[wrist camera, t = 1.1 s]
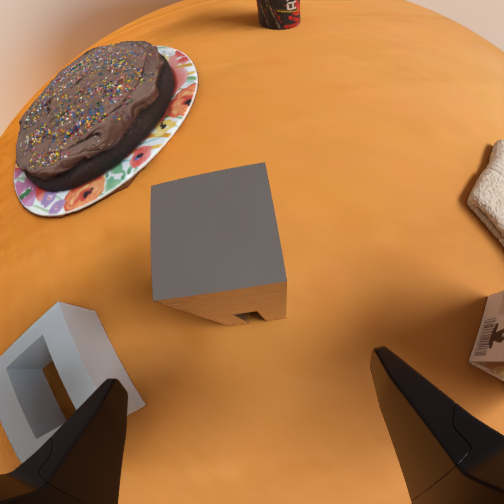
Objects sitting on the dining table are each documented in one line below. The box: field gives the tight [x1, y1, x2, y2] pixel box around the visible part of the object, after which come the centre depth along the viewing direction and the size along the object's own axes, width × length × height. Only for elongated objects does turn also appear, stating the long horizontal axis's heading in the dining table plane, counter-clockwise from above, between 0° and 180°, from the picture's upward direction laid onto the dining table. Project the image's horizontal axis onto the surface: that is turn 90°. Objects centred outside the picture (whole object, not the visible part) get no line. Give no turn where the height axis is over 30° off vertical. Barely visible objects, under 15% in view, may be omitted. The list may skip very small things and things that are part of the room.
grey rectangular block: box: [151, 162, 287, 326], centre depth 15 cm, size 4×4×13 cm
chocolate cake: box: [13, 41, 199, 217], centre depth 27 cm, size 28×28×7 cm
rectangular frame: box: [0, 301, 146, 463], centre depth 18 cm, size 9×14×5 cm, turn 125°
